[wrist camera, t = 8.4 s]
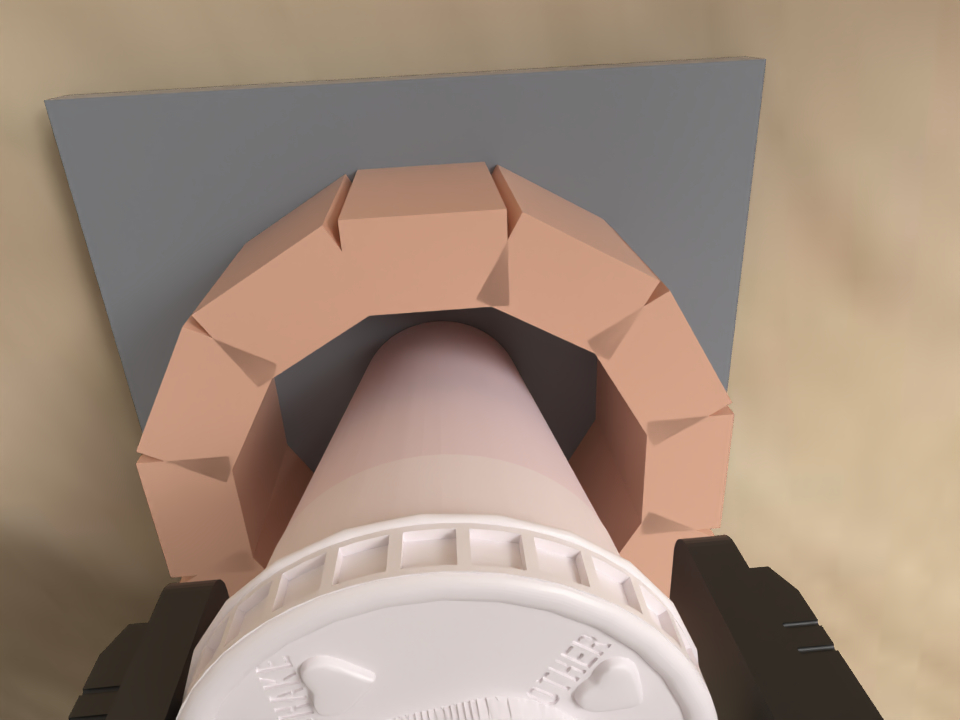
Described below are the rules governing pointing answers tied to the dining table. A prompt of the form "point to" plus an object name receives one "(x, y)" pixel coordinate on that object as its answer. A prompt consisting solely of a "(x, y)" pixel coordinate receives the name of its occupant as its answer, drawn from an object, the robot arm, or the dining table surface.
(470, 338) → the smoothie
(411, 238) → the collar
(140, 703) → the robot arm
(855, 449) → the dining table surface
